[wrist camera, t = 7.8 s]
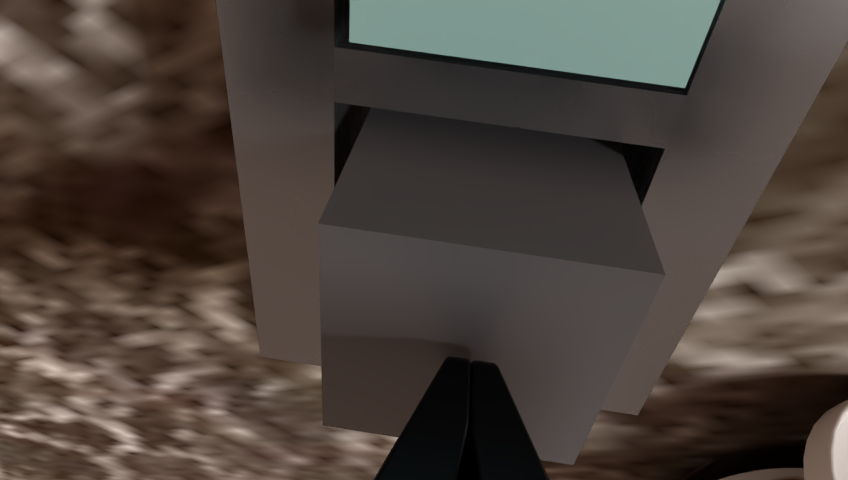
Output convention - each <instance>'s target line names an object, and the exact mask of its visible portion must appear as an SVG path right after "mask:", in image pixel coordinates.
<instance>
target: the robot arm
mask: <svg viewBox="0 0 848 480" xmlns="http://www.w3.org/2000/svg"><path fill="white" fill-rule="evenodd" d="M374 480H549V478H548V476H547V473H546V471H545V469H544V467H543V465H542V462H541V460H540V458H539V456H538V453H537V451H536V449H535V447H534V444H533V442H532V440H531V438H530V436H529V433H528V431H527V429H526V427H525V424H524V422H523V420H522V418H521V416H520V413H519V411H518V409H517V407H516V404H515V402H514V400H513V398H512V395H511V393H510V391H509V389H508V387H507V384H506V382H505V380H504V378H503V375H502V373H501V371H500V369H499V367H498V366H497V365H496V364H495V363H492V362H486V361H479V360H474V361H473V362H472V363H471V361H470V360H469V359H466V358H460V357H453V356H448V357H446V358H445V360H444V361H443V363H442V365H441V366H440V368H439V370H438V371H437V373H436V375H435V377H434V378H433V380H432V382H431V383H430V385H429V387H428V388H427V390H426V392H425V393H424V395H423V397H422V399H421V400H420V402H419V404H418V405H417V407H416V409H415V410H414V412H413V414H412V416H411V417H410V419H409V421H408V422H407V424H406V426H405V427H404V429H403V431H402V433H401V434H400V436H399V438H398V439H397V441H396V443H395V444H394V446H393V448H392V449H391V451H390V453H389V455H388V456H387V458H386V460H385V461H384V463H383V465H382V466H381V468H380V470H379V472H378V473H377V475H376V477H375V478H374Z"/></svg>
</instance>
